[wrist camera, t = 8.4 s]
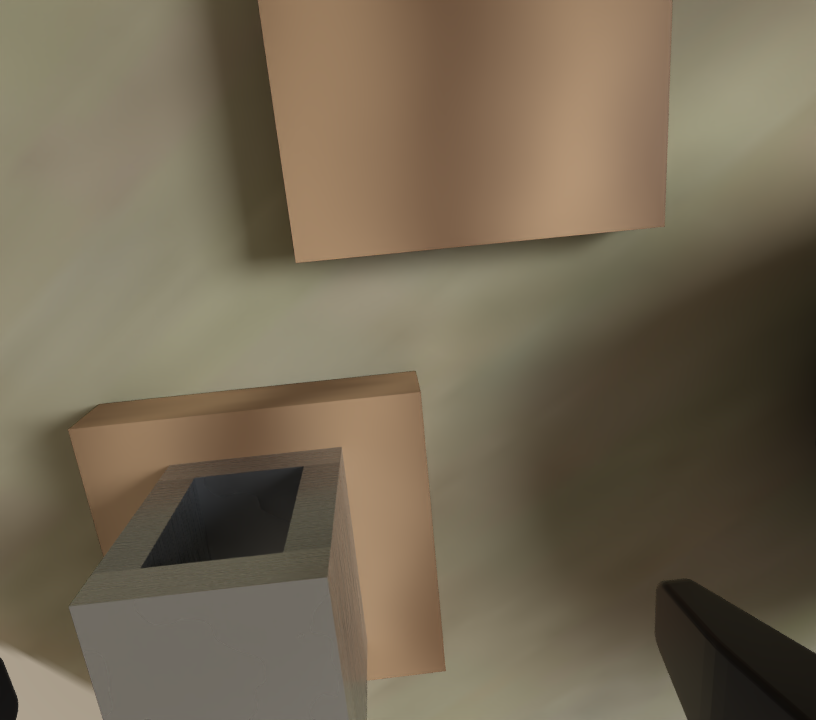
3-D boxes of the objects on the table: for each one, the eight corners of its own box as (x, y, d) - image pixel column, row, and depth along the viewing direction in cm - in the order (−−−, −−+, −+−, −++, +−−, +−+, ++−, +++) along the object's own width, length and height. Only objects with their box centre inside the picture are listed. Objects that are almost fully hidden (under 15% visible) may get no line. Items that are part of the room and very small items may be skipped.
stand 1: (415, 370, 19) (420, 392, 17) (438, 628, 22) (445, 670, 20) (99, 404, 19) (67, 429, 17) (165, 660, 21) (145, 707, 20)
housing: (341, 446, 17) (327, 577, 12) (367, 641, 19) (365, 834, 14) (169, 464, 17) (68, 606, 11) (213, 659, 19) (146, 862, 13)
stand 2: (641, -179, 15) (680, -232, 13) (633, 221, 18) (664, 226, 16) (247, -149, 15) (229, -199, 13) (303, 254, 18) (295, 262, 16)
